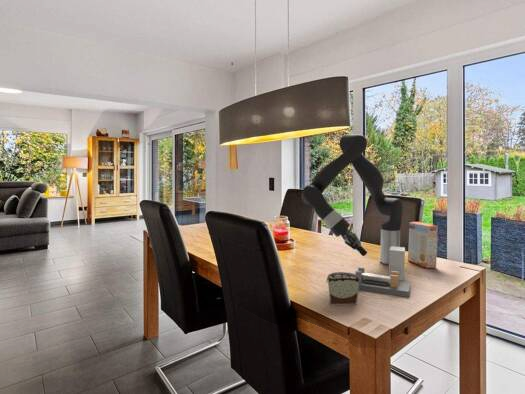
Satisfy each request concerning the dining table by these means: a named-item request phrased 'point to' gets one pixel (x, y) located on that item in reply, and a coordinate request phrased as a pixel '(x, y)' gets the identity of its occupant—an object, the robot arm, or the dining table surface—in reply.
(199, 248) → the dining table surface
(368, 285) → the mounting plate
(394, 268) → the small box
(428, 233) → the cracker box
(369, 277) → the strap
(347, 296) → the food container
